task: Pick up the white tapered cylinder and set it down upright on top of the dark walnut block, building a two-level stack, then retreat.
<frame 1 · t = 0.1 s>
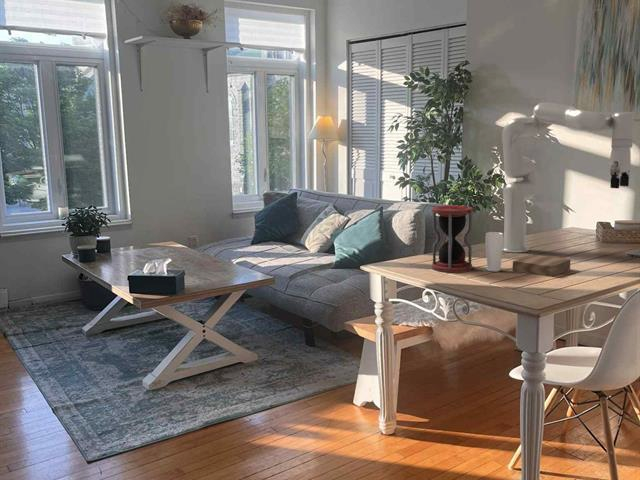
hand: (619, 187, 251), 31 cm above the table, fingers open, 9 cm apart
walnut block: (541, 270, 248), on the table
hourglass: (451, 268, 256), on the table
white tapered cylinder: (493, 271, 250), on the table
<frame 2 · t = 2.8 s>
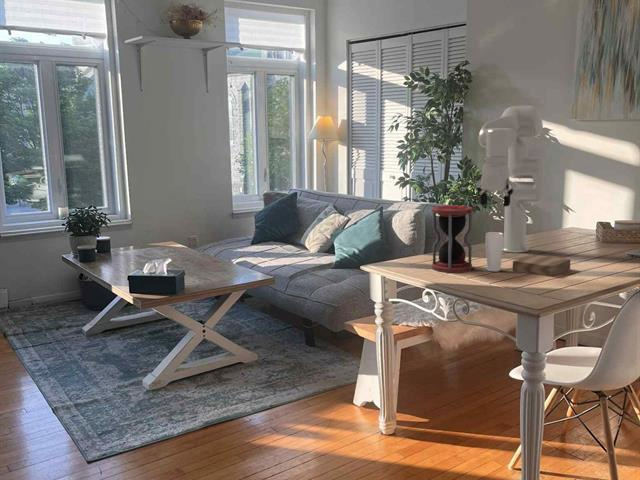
hand: (495, 205, 245), 26 cm above the table, fingers open, 9 cm apart
nothing on the table moved.
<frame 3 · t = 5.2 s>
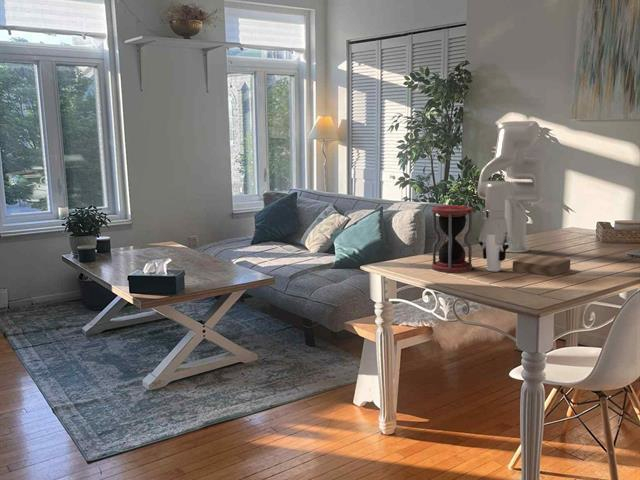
hand: (494, 259, 249), 5 cm above the table, fingers closed on white tapered cylinder, 6 cm apart
white tapered cylinder: (493, 270, 250), on the table, touching gripper
everything else where it was.
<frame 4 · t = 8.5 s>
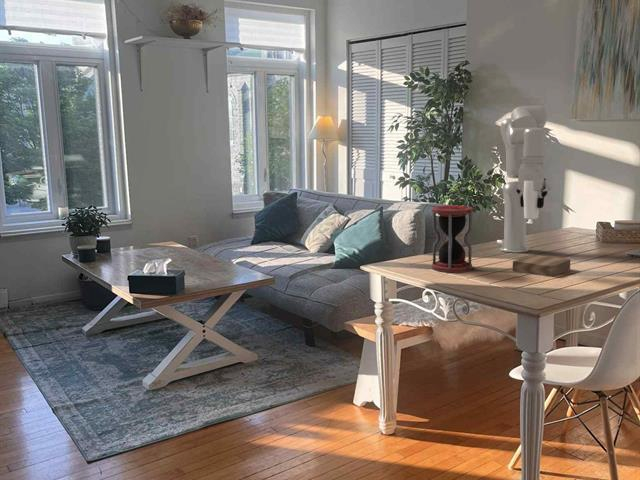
hand: (531, 206, 244), 25 cm above the table, fingers closed on white tapered cylinder, 6 cm apart
white tapered cylinder: (531, 219, 245), point 20 cm above the table, touching gripper
everything else where it was.
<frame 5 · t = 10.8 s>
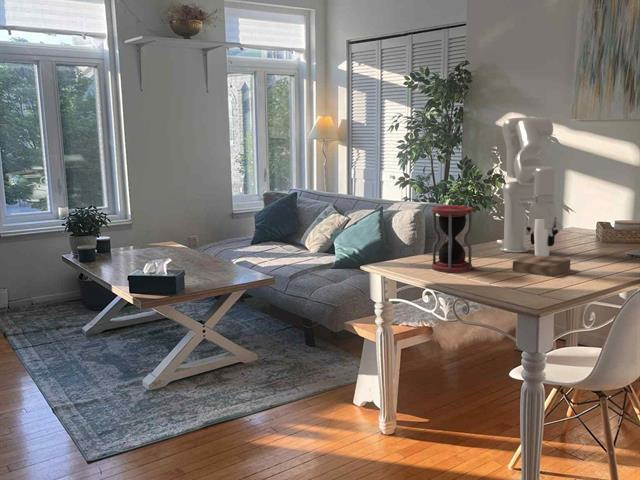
hand: (542, 244, 246), 10 cm above the table, fingers closed on white tapered cylinder, 6 cm apart
white tapered cylinder: (541, 256, 247), point 5 cm above the table, touching gripper
everything else where it was.
when the fingers open (8 cm above the table, at t = 12.0 s): white tapered cylinder stays where it is, resting on walnut block.
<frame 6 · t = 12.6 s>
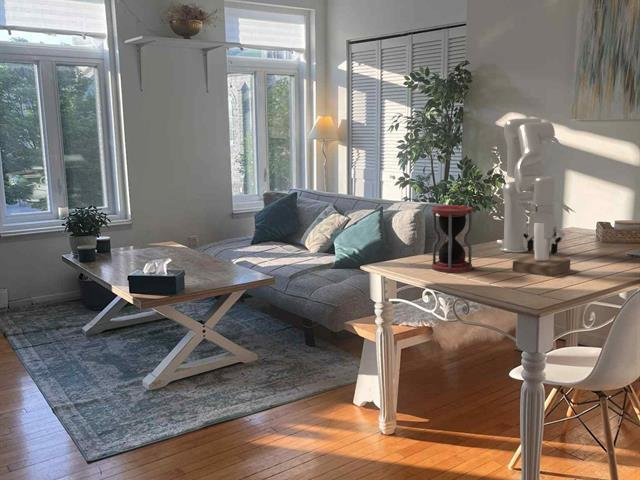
hand: (541, 252, 247), 7 cm above the table, fingers open, 9 cm apart
white tapered cylinder: (541, 260, 247), point 4 cm above the table, touching walnut block
everything else where it was.
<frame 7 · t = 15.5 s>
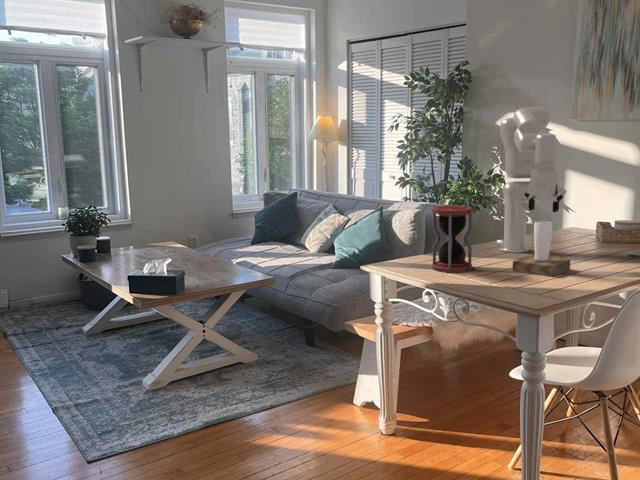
hand: (543, 210, 244), 24 cm above the table, fingers open, 9 cm apart
nothing on the table moved.
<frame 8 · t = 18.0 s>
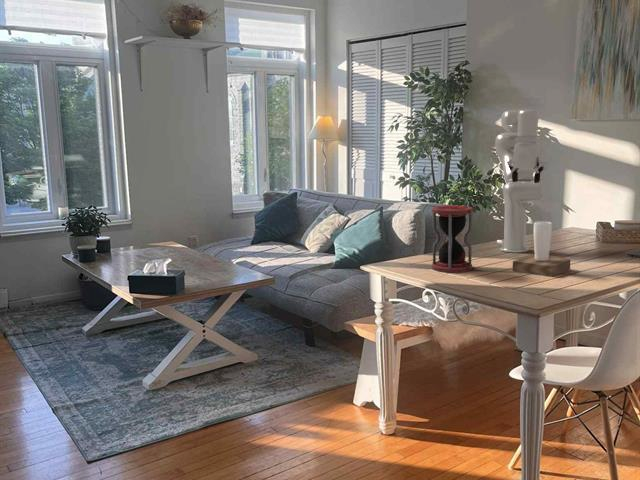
hand: (525, 182, 260), 33 cm above the table, fingers open, 9 cm apart
nothing on the table moved.
at the end: white tapered cylinder inside the target area on the walnut block (0.1 cm from its centre), point 3.8 cm above the walnut block's base; white tapered cylinder tilted 1°; the gripper is holding nothing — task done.
